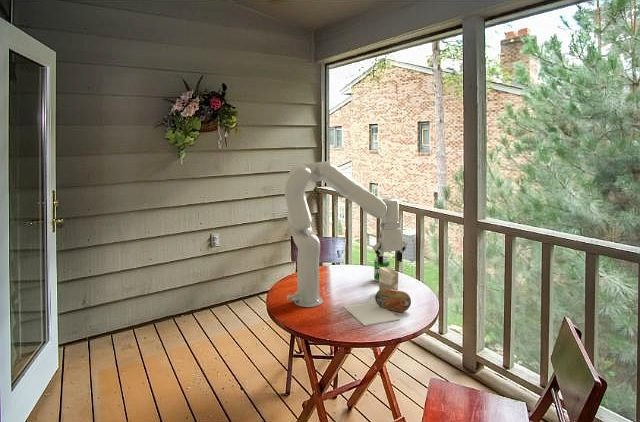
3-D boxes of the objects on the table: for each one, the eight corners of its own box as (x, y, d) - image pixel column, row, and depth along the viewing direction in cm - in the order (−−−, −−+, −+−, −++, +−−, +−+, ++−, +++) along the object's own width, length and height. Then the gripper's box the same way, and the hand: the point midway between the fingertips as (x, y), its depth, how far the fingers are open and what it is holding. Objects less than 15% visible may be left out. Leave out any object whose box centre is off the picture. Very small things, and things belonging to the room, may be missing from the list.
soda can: (373, 278, 225) (373, 255, 223) (388, 278, 225) (388, 255, 222) (374, 283, 217) (375, 259, 215) (390, 283, 217) (390, 259, 215)
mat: (364, 326, 168) (364, 324, 168) (343, 307, 187) (343, 306, 187) (399, 320, 174) (399, 318, 174) (375, 302, 192) (375, 301, 192)
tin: (374, 306, 186) (375, 287, 185) (376, 304, 189) (378, 285, 187) (408, 314, 179) (410, 294, 178) (410, 312, 182) (412, 292, 180)
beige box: (389, 299, 196) (390, 273, 194) (379, 292, 205) (379, 267, 203) (397, 298, 197) (398, 272, 195) (386, 291, 206) (387, 266, 204)
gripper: (376, 229, 189) (377, 267, 192) (411, 225, 195) (411, 262, 198) (368, 226, 196) (369, 262, 199) (402, 222, 202) (402, 258, 205)
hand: (390, 262), depth 198 cm, fingers open, 9 cm apart
